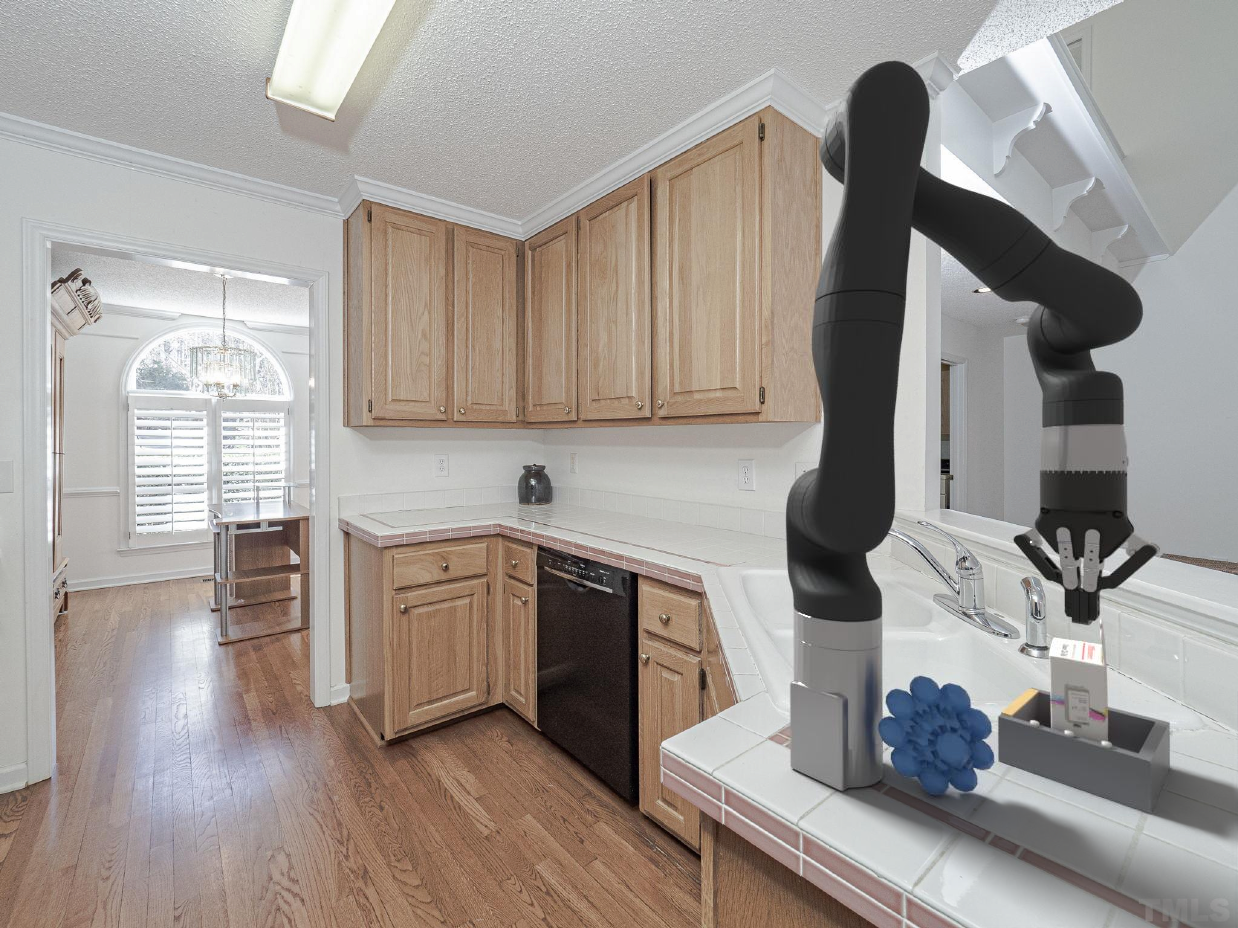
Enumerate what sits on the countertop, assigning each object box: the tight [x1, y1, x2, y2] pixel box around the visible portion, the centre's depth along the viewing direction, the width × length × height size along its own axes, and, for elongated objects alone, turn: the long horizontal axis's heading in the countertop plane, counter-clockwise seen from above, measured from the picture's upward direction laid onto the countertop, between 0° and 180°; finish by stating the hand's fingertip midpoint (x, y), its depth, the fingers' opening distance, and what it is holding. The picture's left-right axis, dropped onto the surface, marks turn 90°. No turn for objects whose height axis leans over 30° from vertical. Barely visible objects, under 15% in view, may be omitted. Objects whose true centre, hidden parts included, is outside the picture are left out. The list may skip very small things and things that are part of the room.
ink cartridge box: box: [1048, 618, 1109, 743], centre depth 63 cm, size 9×5×15 cm, turn 140°
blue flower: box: [878, 675, 995, 796], centre depth 56 cm, size 12×7×12 cm, turn 90°
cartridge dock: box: [997, 687, 1171, 815], centre depth 63 cm, size 13×13×5 cm
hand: (1082, 622), depth 63 cm, fingers closed
